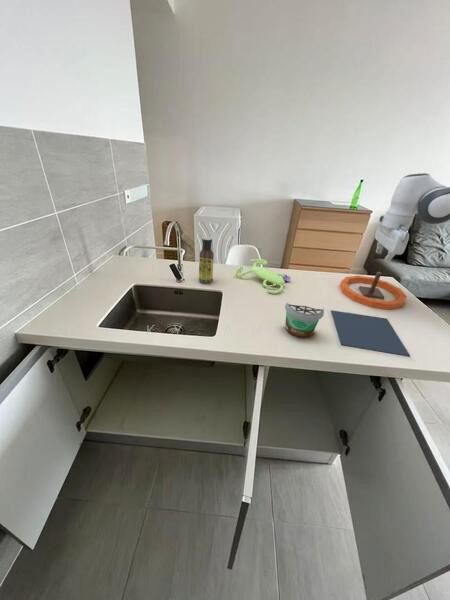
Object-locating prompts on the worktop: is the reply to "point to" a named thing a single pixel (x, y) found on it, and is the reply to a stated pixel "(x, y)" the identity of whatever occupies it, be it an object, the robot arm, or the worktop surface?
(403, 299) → the ring
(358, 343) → the mat
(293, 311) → the food container
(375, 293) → the post
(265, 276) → the figurine
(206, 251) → the sauce bottle
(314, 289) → the worktop surface
